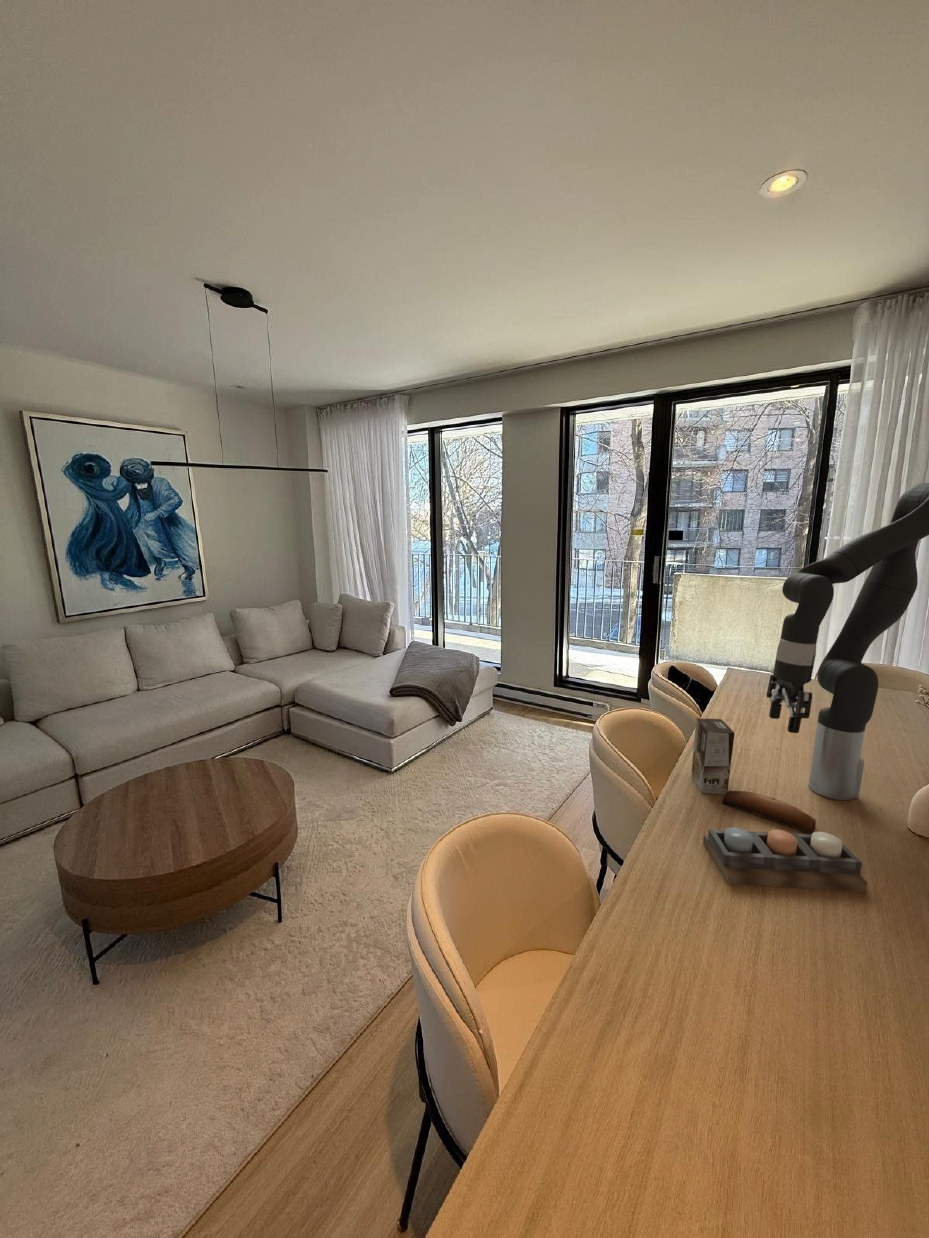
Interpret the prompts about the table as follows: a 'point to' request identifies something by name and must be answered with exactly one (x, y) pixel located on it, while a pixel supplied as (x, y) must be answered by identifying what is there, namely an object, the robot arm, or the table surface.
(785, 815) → the sunglasses case
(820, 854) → the cream button
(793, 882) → the gray compartment tray
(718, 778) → the coffee box
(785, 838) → the tan rounded oval piece
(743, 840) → the slate button
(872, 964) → the table surface
